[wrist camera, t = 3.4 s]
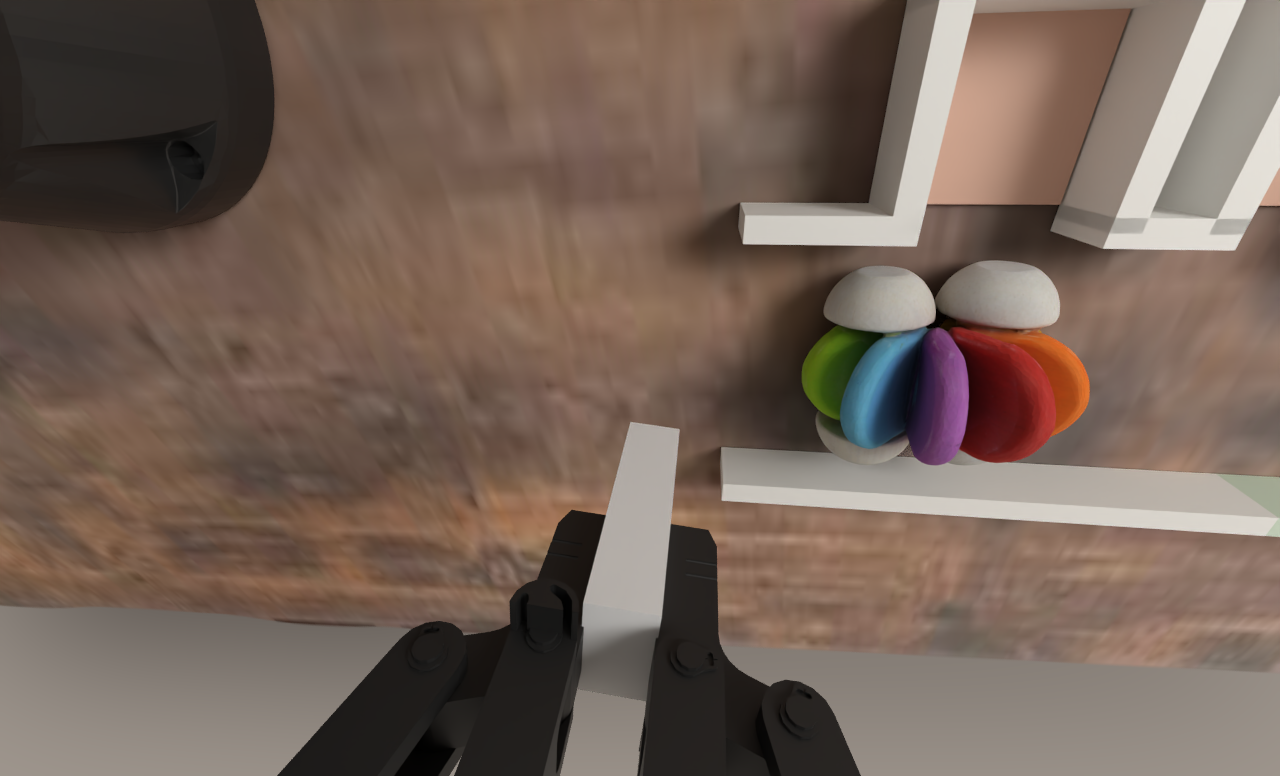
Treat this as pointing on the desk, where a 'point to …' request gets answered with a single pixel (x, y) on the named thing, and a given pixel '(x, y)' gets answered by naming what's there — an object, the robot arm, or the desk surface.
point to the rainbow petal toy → (943, 367)
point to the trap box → (1088, 211)
